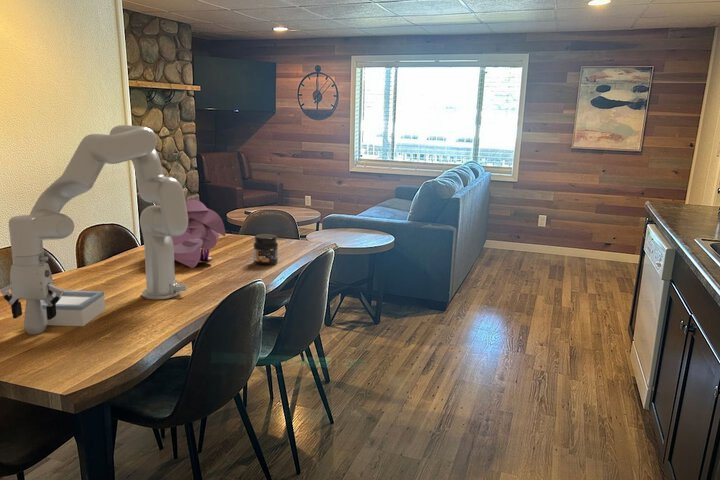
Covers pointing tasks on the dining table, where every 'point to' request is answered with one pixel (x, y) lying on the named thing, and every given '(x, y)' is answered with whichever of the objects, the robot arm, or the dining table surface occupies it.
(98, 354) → the dining table surface
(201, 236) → the flower arrangement
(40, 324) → the salt shaker
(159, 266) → the robot arm
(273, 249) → the supplement container
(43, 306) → the stand
